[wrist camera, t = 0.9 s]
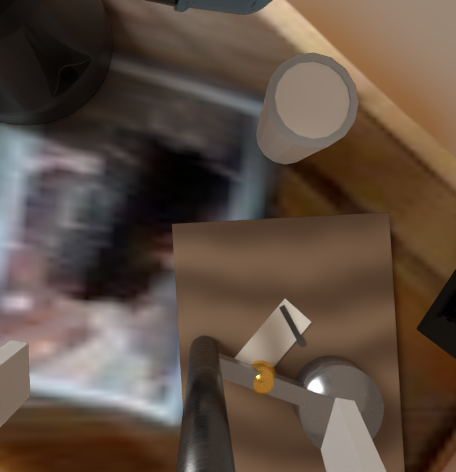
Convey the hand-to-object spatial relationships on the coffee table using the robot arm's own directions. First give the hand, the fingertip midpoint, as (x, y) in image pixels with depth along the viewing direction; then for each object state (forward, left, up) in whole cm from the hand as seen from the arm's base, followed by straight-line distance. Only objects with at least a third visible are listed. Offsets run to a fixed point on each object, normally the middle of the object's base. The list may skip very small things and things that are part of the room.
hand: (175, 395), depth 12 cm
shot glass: (-16, +10, -14) cm, 24 cm away
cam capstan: (+6, +8, -12) cm, 16 cm away
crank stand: (+5, +9, -14) cm, 18 cm away
